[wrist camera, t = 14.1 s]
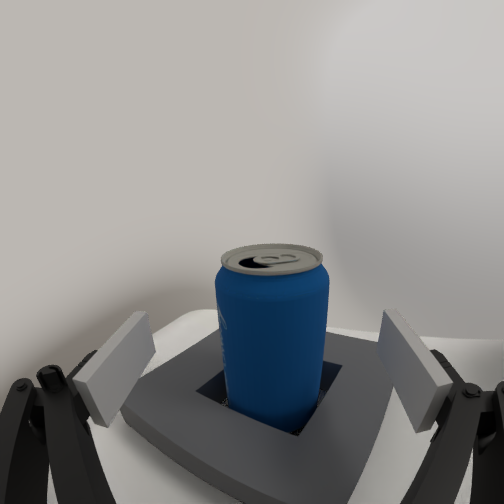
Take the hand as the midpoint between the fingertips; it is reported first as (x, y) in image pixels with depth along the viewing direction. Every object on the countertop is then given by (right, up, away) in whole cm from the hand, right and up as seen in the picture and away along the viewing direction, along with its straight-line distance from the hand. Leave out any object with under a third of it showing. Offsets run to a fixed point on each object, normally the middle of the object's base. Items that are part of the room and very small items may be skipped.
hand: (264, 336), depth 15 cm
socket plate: (+1, -7, +4) cm, 8 cm away
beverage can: (+1, -7, +4) cm, 9 cm away
